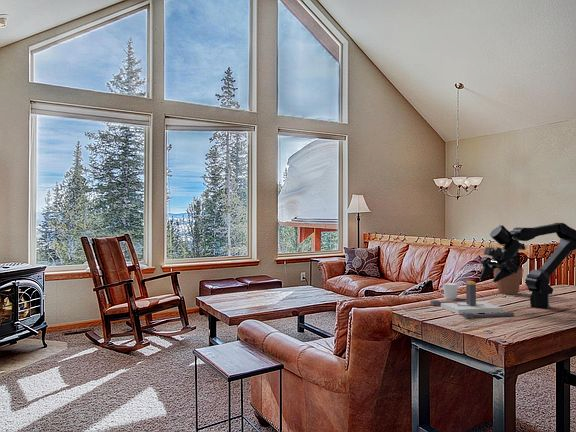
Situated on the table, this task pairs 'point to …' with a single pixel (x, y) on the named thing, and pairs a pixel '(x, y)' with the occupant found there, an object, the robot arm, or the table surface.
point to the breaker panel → (471, 307)
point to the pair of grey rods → (471, 315)
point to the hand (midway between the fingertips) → (487, 280)
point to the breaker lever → (470, 293)
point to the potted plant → (510, 279)
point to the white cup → (450, 290)
